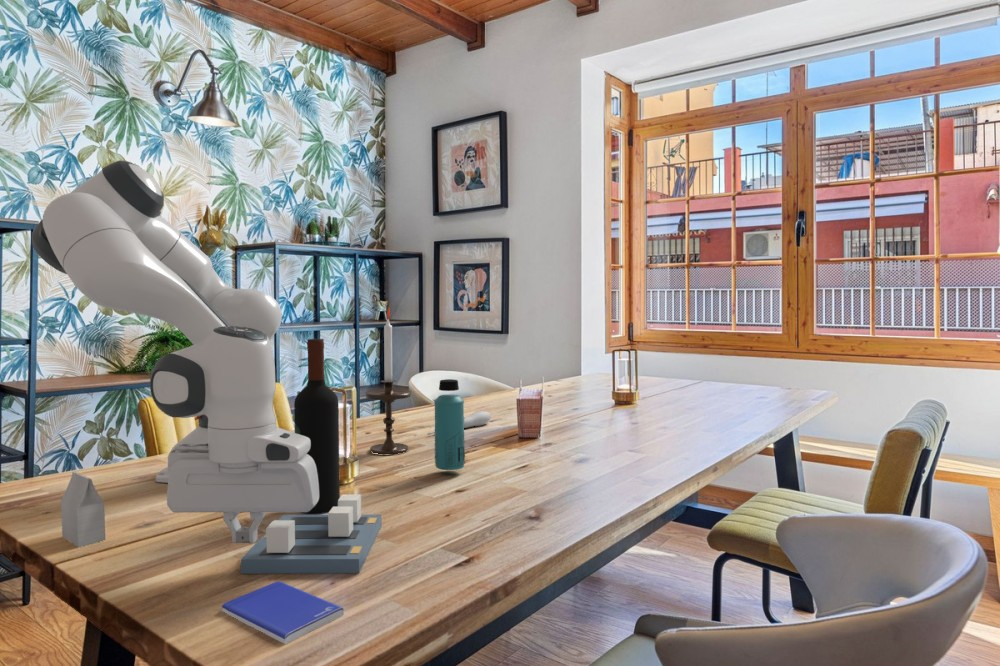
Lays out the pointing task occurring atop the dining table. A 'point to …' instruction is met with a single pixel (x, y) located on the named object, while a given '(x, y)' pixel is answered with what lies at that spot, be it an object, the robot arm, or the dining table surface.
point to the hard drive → (282, 611)
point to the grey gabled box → (82, 512)
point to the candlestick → (388, 397)
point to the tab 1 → (280, 536)
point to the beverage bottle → (449, 428)
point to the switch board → (315, 548)
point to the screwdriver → (475, 419)
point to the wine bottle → (320, 427)
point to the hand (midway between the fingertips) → (245, 541)
